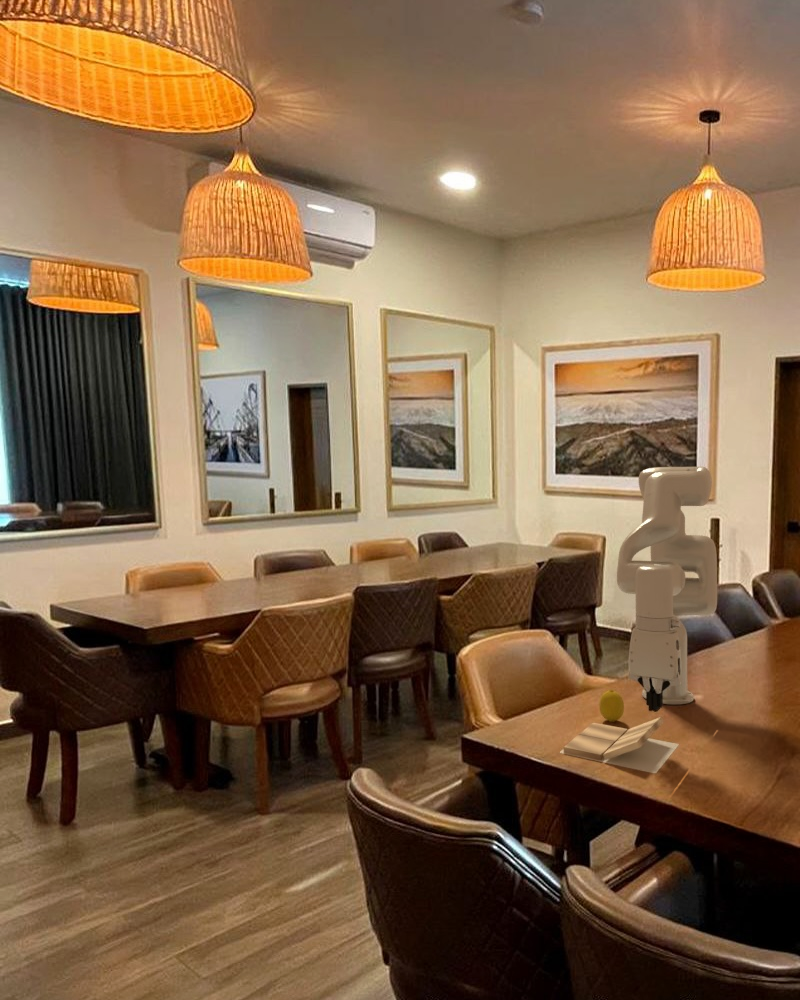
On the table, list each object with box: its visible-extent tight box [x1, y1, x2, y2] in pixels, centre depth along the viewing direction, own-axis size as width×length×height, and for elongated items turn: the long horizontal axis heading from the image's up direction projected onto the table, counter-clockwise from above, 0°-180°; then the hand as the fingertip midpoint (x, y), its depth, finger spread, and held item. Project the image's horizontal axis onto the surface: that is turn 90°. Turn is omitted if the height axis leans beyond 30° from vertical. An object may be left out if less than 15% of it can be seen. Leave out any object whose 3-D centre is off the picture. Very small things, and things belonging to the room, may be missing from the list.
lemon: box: [598, 688, 625, 723], centre depth 173 cm, size 6×6×8 cm
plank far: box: [617, 716, 665, 741], centre depth 158 cm, size 8×8×1 cm
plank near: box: [603, 729, 653, 760], centre depth 151 cm, size 8×8×1 cm
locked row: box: [563, 722, 629, 761], centre depth 159 cm, size 18×8×1 cm, turn 145°
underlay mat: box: [559, 737, 680, 775], centre depth 156 cm, size 18×20×1 cm
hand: (654, 709), depth 156 cm, fingers closed
